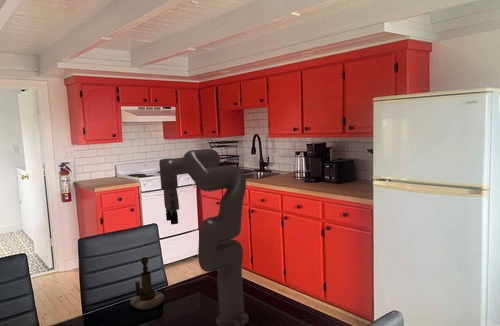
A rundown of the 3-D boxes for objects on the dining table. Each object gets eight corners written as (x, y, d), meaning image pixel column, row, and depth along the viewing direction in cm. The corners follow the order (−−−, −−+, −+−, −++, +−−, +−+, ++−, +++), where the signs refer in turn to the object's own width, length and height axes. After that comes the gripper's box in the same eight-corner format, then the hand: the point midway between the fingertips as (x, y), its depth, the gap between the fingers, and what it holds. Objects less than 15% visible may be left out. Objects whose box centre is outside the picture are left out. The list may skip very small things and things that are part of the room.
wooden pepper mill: (151, 301, 164) (147, 260, 162) (137, 301, 165) (133, 259, 164) (157, 295, 170) (154, 255, 169) (144, 294, 171) (141, 255, 170)
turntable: (170, 298, 169) (169, 281, 169) (145, 311, 158) (144, 293, 158) (149, 292, 177) (148, 276, 177) (123, 304, 166) (122, 287, 166)
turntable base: (161, 306, 165) (161, 303, 165) (137, 312, 161) (137, 309, 161) (157, 298, 174) (157, 295, 174) (134, 303, 170) (134, 300, 170)
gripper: (182, 186, 170) (184, 224, 171) (173, 182, 186) (176, 217, 187) (165, 188, 167) (168, 226, 168) (157, 184, 183) (160, 220, 184)
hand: (172, 222), depth 178 cm, fingers open, 9 cm apart
